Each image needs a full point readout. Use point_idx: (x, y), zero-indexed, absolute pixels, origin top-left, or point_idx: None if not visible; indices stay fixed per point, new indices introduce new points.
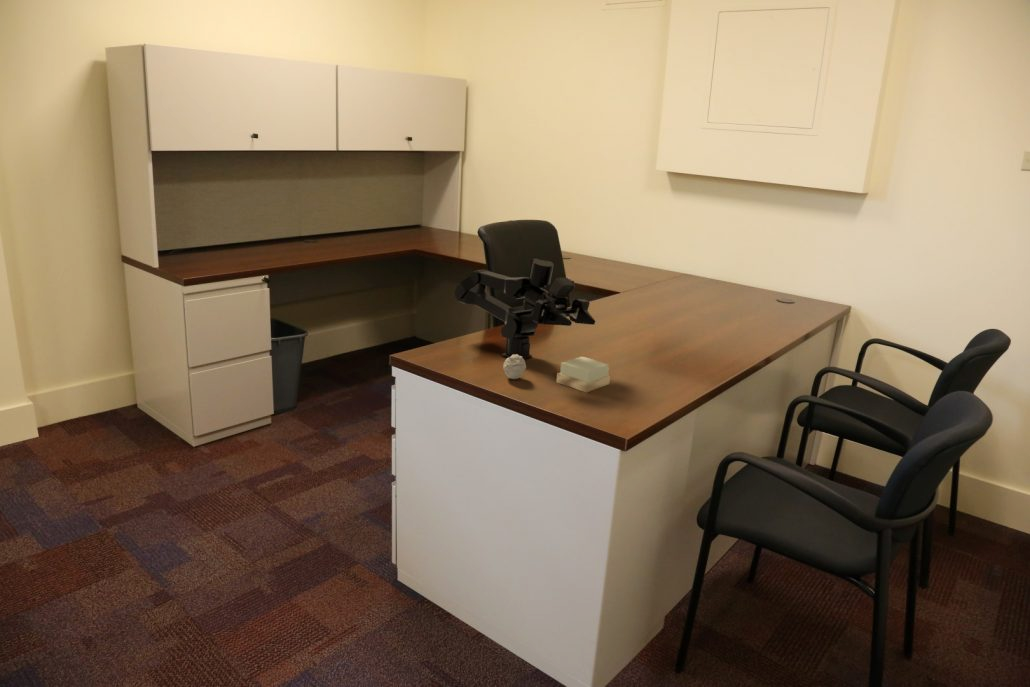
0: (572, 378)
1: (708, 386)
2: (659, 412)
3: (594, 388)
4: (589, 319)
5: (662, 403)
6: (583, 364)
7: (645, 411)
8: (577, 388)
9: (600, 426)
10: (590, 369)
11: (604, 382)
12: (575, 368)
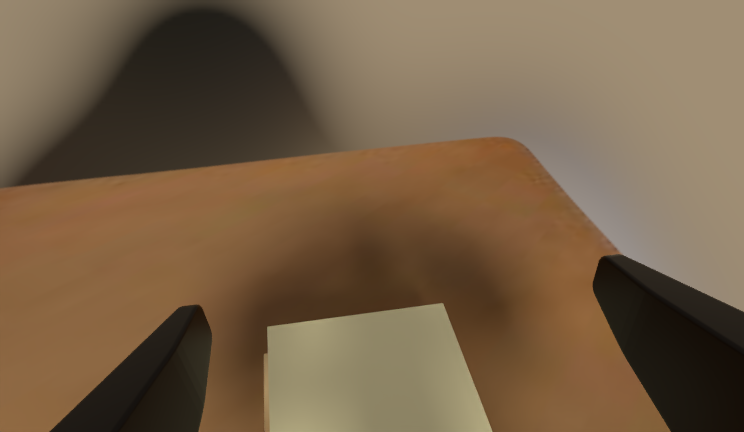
0: None
1: (17, 195)
2: (343, 163)
3: None
4: (176, 387)
5: (281, 186)
6: (395, 395)
7: (370, 178)
8: None
9: (537, 177)
10: (412, 319)
11: None
12: (469, 380)
